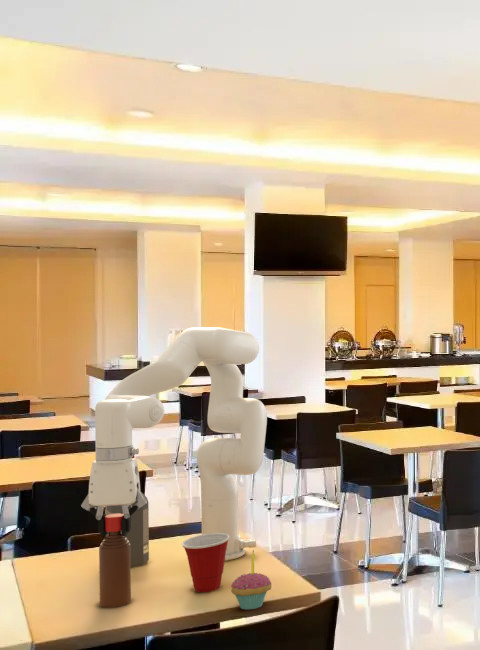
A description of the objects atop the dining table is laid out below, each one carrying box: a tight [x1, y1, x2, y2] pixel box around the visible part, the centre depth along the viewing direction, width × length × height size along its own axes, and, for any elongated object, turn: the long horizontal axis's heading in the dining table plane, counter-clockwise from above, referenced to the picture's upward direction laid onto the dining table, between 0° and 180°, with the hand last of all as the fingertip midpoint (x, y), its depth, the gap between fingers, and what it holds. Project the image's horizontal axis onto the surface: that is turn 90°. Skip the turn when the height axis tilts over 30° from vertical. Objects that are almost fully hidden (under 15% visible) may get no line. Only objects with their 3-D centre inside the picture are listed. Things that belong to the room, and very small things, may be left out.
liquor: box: [105, 455, 150, 568], centre depth 228 cm, size 9×9×30 cm
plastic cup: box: [181, 533, 230, 593], centre depth 206 cm, size 11×11×12 cm
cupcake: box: [230, 549, 272, 611], centre depth 193 cm, size 9×8×12 cm
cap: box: [105, 514, 123, 532], centre depth 197 cm, size 4×4×3 cm
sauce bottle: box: [98, 531, 132, 609], centre depth 197 cm, size 6×6×19 cm
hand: (114, 534), depth 197 cm, fingers closed on cap, 3 cm apart
